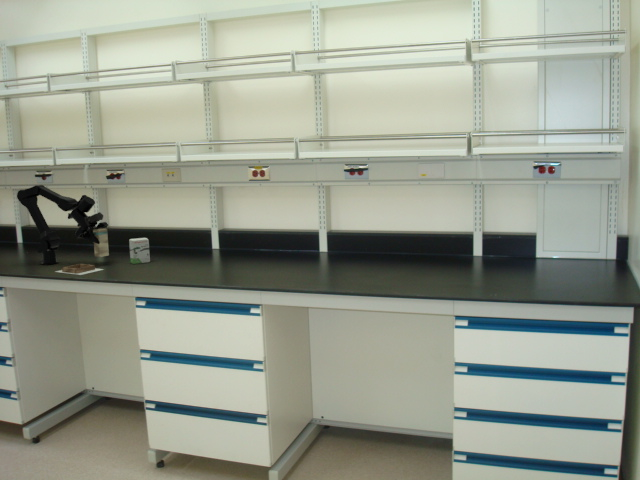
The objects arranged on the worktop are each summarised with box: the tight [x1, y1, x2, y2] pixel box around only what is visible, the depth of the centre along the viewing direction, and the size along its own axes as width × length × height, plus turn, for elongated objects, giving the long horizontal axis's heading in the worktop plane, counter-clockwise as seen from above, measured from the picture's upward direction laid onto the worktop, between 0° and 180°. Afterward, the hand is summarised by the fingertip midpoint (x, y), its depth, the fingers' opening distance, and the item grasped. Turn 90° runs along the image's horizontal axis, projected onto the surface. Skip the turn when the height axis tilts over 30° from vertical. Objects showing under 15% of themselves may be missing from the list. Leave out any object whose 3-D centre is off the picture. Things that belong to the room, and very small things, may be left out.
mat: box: [54, 267, 105, 276], centre depth 271 cm, size 18×13×1 cm
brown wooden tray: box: [61, 263, 96, 275], centre depth 270 cm, size 10×10×2 cm
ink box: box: [128, 237, 151, 265], centre depth 288 cm, size 9×5×12 cm, turn 123°
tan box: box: [93, 228, 110, 258], centre depth 281 cm, size 4×5×13 cm
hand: (103, 242), depth 281 cm, fingers closed on tan box, 6 cm apart
